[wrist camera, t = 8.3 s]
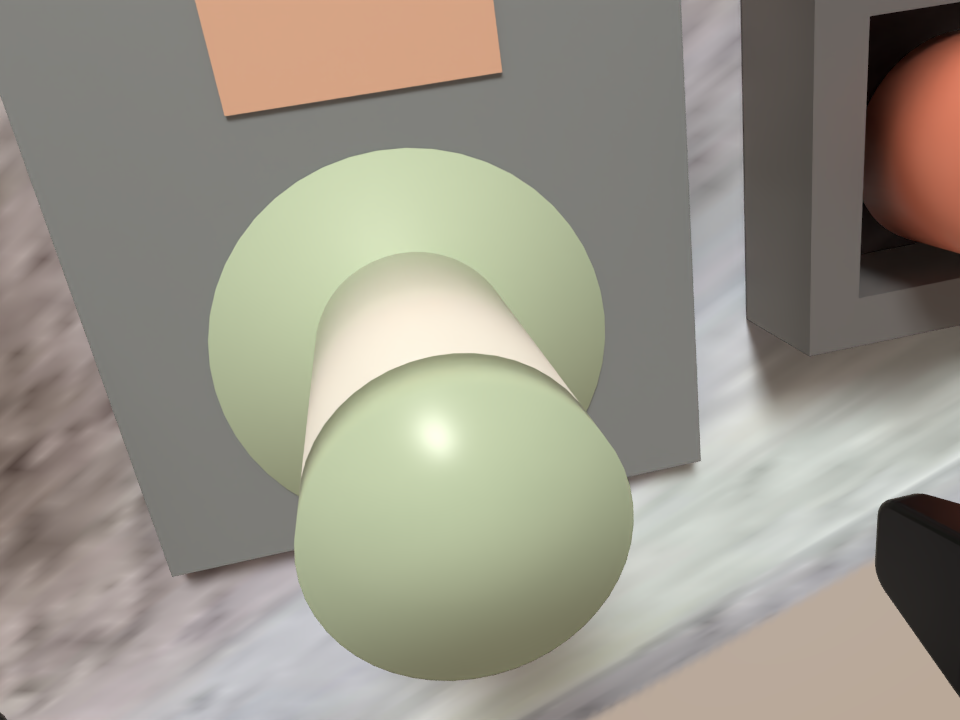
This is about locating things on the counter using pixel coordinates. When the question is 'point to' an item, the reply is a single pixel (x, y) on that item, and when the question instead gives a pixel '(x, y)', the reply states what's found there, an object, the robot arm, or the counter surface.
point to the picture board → (350, 213)
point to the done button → (917, 146)
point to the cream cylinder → (449, 480)
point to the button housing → (824, 186)
